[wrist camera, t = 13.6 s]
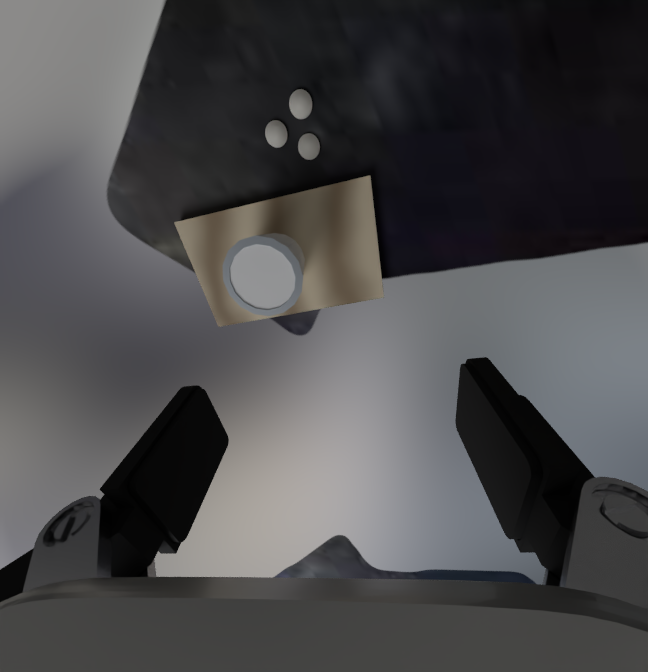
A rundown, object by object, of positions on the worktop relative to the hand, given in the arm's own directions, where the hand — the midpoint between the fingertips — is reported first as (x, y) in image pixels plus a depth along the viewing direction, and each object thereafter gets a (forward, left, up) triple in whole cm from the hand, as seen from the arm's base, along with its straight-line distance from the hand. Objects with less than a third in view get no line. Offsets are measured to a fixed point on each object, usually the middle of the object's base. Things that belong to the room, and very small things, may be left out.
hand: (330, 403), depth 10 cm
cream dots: (+1, -13, -22) cm, 26 cm away
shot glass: (+6, -2, -21) cm, 22 cm away
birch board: (+5, -2, -22) cm, 23 cm away
